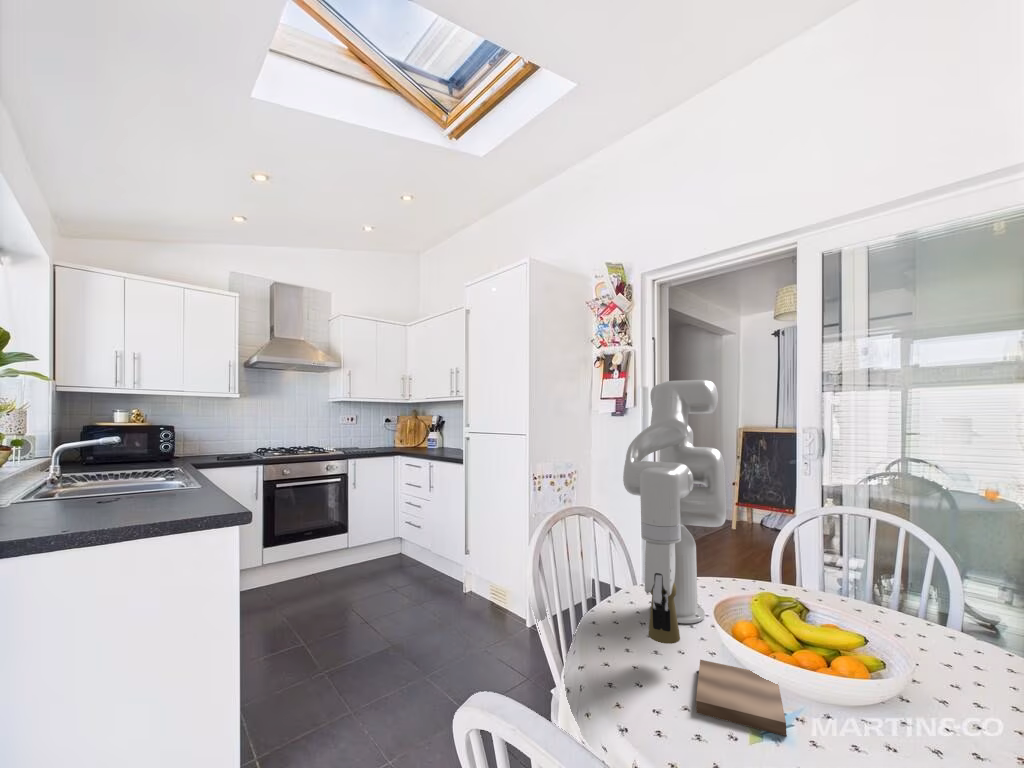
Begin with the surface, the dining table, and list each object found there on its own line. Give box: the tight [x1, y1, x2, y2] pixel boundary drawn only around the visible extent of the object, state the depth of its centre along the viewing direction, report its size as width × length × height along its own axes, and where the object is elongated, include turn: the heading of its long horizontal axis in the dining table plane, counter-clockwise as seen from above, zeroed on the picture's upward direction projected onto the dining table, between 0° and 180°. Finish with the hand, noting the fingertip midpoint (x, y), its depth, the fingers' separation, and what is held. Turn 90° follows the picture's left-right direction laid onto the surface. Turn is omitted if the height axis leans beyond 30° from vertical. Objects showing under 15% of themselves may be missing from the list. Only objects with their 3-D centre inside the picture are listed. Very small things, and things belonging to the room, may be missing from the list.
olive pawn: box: [647, 583, 681, 645], centre depth 90 cm, size 6×6×11 cm
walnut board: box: [695, 659, 788, 737], centre depth 80 cm, size 14×13×2 cm
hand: (663, 622), depth 90 cm, fingers closed on olive pawn, 4 cm apart
